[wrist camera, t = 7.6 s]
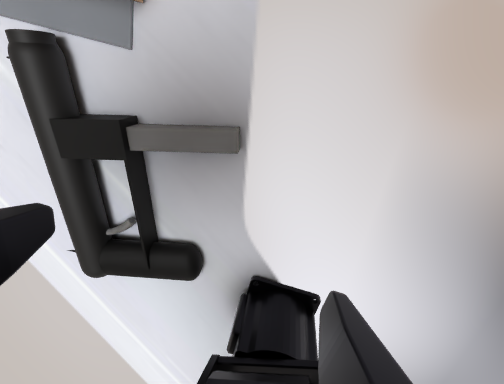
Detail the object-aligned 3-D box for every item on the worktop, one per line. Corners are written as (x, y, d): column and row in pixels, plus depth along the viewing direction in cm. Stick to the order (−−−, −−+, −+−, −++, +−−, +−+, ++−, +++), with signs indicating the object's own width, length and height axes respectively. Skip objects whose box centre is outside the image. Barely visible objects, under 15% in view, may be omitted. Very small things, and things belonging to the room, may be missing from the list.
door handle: (232, 23, 14) (-31, 27, 15) (238, 296, 22) (66, 282, 23) (240, 34, 17) (20, 36, 18) (243, 269, 25) (91, 259, 26)
